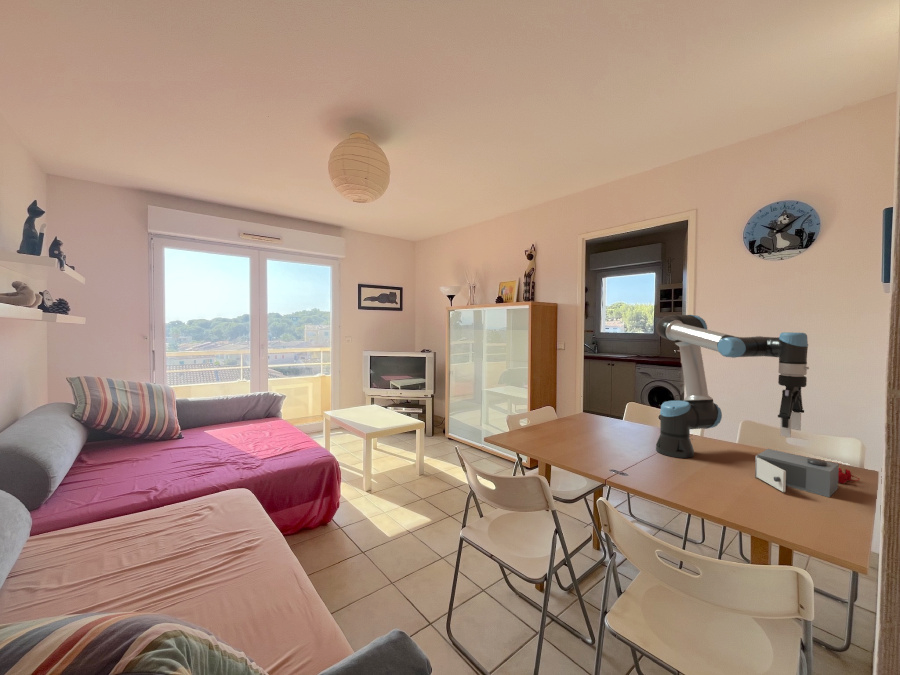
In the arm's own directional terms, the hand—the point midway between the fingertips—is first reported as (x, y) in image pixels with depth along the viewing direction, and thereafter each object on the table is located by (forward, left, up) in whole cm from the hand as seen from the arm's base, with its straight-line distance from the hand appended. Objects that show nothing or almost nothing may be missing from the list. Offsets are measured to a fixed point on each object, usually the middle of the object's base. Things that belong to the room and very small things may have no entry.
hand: (790, 433), depth 136 cm
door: (-5, -6, -19) cm, 21 cm away
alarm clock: (+7, +22, -20) cm, 31 cm away
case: (+1, +5, -20) cm, 20 cm away
